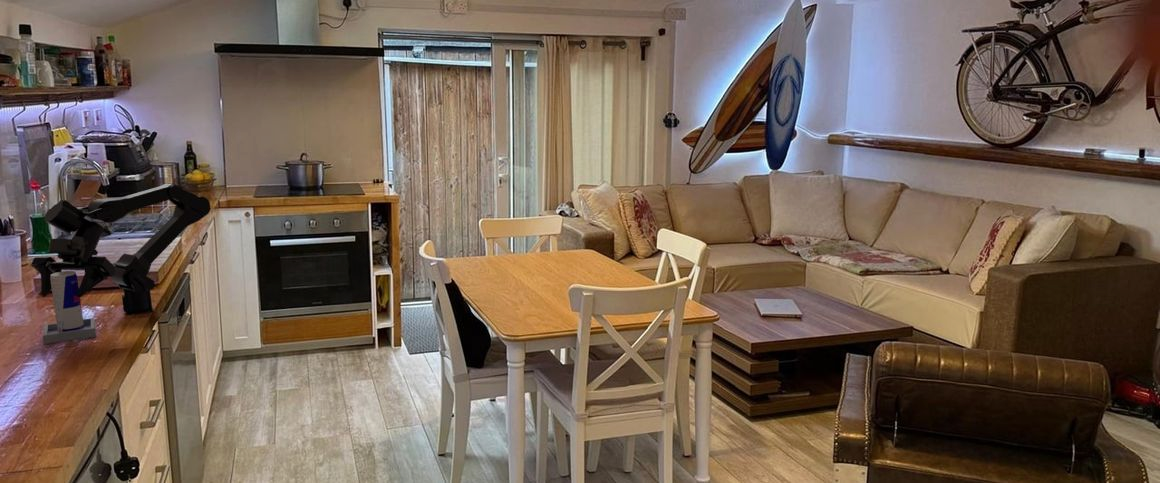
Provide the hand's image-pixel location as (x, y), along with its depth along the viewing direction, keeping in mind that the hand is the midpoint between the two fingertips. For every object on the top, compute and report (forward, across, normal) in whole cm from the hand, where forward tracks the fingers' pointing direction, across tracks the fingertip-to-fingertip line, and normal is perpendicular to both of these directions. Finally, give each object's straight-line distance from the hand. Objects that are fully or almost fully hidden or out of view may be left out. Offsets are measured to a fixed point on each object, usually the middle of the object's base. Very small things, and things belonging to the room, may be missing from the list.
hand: (60, 296), depth 205 cm
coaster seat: (+6, 0, +8) cm, 10 cm away
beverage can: (+6, 0, +8) cm, 10 cm away
